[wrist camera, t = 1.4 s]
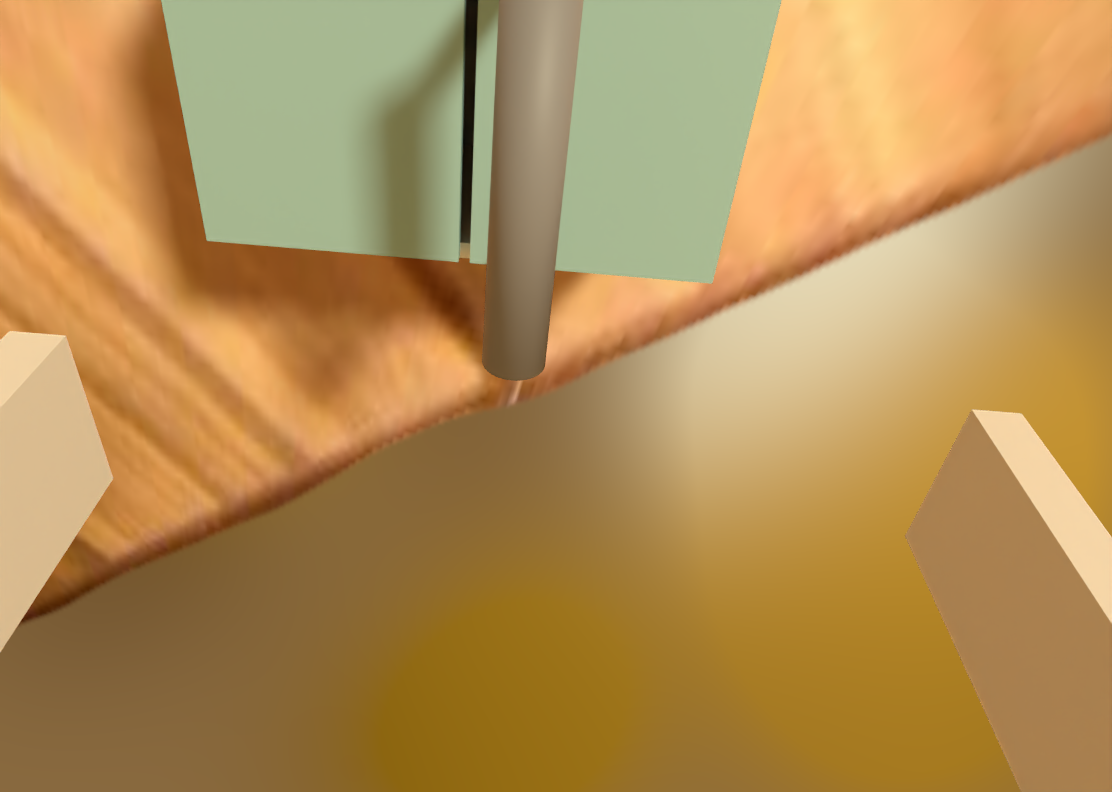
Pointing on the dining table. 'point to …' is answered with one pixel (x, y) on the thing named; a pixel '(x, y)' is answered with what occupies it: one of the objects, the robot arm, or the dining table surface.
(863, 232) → the dining table surface
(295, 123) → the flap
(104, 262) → the dining table surface
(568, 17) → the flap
